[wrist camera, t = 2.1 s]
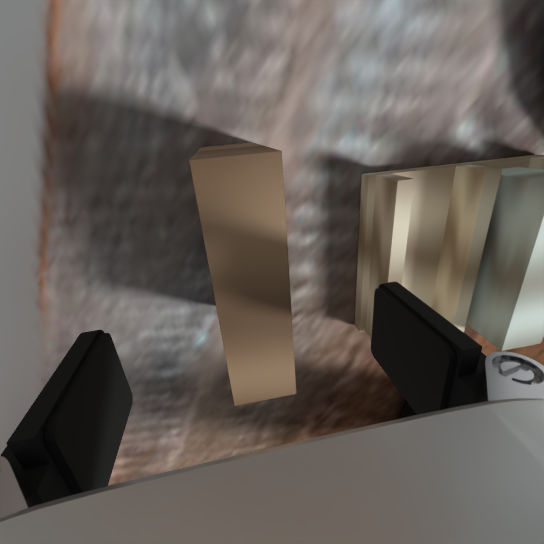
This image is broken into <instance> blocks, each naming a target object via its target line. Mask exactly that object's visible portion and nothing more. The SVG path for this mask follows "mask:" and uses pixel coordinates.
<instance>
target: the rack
mask: <svg viewBox="0 0 544 544" xmlns="http://www.w3.org/2000/svg"><path fill="white" fill-rule="evenodd" d="M395 281H396V282H398V283H399V284H401V285H402V286H403V287H405V288H406V289H407V290H409V291H410V292H411V293H412V294H414V295H415V296H416V297H418V298H419V299H420V300H422V301H423V302H424V303H426V304H427V305H428V306H430V307H431V308H432V309H433V310H435V311H436V312H437V313H439V314H440V315H441V316H443V317H444V318H445V319H447V320H448V321H449V322H450V323H452V324H453V325H454V326H456V327H457V328H458V329H460V330H461V331H462V332H464V329H465V325H466V324H467V325H468V326H470V327H471V328H472V329H474V330H475V331H476V332H478V333H479V334H480V335H482V336H483V337H484V338H485V339H487V340H488V341H489V342H491V343H492V344H493V345H495V346H496V347H497V348H499V349H500V350H501V351H503V350H508V349H513V348H518V347H524V346H529V345H534V344H539V343H541V341H542V338H543V336H544V155H528V156H519V157H510V158H501V159H492V160H483V161H474V162H465V163H456V164H447V165H438V166H429V167H420V168H411V169H402V170H393V171H384V172H375V173H366V174H362V179H361V201H360V222H359V244H358V265H357V287H356V308H355V326H356V328H357V329H358V330H359V332H364V331H366V332H367V333H368V335H369V336H370V337H371V338H372V323H373V307H374V292H375V289H376V288H378V287H379V285H380V284H382V283H388V282H395Z"/></svg>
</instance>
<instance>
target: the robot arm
mask: <svg viewBox="0 0 544 544" xmlns="http://www.w3.org/2000/svg"><path fill="white" fill-rule="evenodd" d="M481 350H482V346H481V345H479V344H478V343H477V342H475V341H474V340H473V339H471V338H470V337H469V336H468V335H466V334H465V333H464V332H462V331H461V330H460V329H458V328H457V327H456V326H454V325H453V324H452V323H450V322H449V321H448V320H447V319H445V318H444V317H443V316H441V315H440V314H439V313H437V312H436V311H435V310H433V309H432V308H431V307H430V306H428V305H427V304H426V303H424V302H423V301H422V300H420V299H419V298H418V297H416V296H415V295H414V294H412V293H411V292H410V291H409V290H407V289H406V288H405V287H403V286H402V285H401V284H399V283H398V282H396V281H395V282H388V283H382V284H380V285H379V287H378V288H376V289H375V292H374V307H373V323H372V338H371V351H372V354H373V356H374V358H375V359H376V361H377V362H378V363H379V365H380V366H381V367H382V369H383V370H384V371H385V373H386V374H387V375H388V377H389V378H390V379H391V381H392V382H393V383H394V385H395V386H396V387H397V389H398V390H399V391H400V393H401V394H402V395H403V397H404V398H405V399H406V401H407V402H408V403H409V405H410V406H411V407H412V409H413V410H414V411H415V413H416V414H417V415H414V416H410V417H405V418H401V419H396V420H392V421H387V422H383V423H378V424H374V425H369V426H365V427H360V428H356V429H351V430H347V431H342V432H338V433H333V434H329V435H324V436H320V437H316V438H311V439H307V440H302V441H298V442H294V443H289V444H285V445H280V446H276V447H272V448H267V449H263V450H259V451H254V452H250V453H245V454H241V455H237V456H232V457H228V458H224V459H219V460H215V461H211V462H207V463H202V464H198V465H194V466H190V467H185V468H181V469H177V470H172V471H168V472H164V473H160V474H155V475H151V476H147V477H143V478H138V479H134V480H130V481H126V482H122V483H118V484H114V485H110V486H108V483H109V479H110V476H111V473H112V469H113V466H114V463H115V459H116V456H117V453H118V449H119V446H120V443H121V440H122V436H123V433H124V430H125V426H126V423H127V420H128V416H129V413H130V410H131V406H132V393H131V390H130V387H129V384H128V382H127V379H126V376H125V373H124V371H123V368H122V365H121V362H120V360H119V357H118V354H117V352H116V349H115V346H114V343H113V341H112V338H111V336H110V334H109V333H104V332H103V330H96V331H90V332H84V333H81V334H80V335H79V337H78V338H77V340H76V341H75V343H74V344H73V345H72V347H71V348H70V350H69V351H68V353H67V354H66V356H65V357H64V359H63V360H62V362H61V363H60V365H59V366H58V368H57V369H56V371H55V372H54V374H53V375H52V376H51V378H50V379H49V381H48V382H47V384H46V385H45V387H44V388H43V390H42V391H41V393H40V394H39V396H38V397H37V399H36V400H35V402H34V403H33V405H32V406H31V408H30V409H29V411H28V412H27V413H26V415H25V417H24V418H23V419H22V421H21V422H20V424H19V425H18V427H17V428H16V430H15V431H14V433H13V434H12V436H11V437H10V438H9V440H8V442H7V447H6V448H5V450H4V451H3V453H2V454H1V456H0V544H544V366H543V365H541V364H540V363H538V362H536V361H535V360H533V359H531V358H528V357H526V356H523V355H520V354H516V353H511V352H494V353H491V354H489V355H488V356H485V355H484V354H483V353H482V352H481Z"/></svg>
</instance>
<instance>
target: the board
mask: <svg viewBox="0 0 544 544" xmlns="http://www.w3.org/2000/svg"><path fill="white" fill-rule="evenodd" d="M189 162H190V168H191V173H192V178H193V184H194V189H195V195H196V200H197V205H198V211H199V216H200V221H201V227H202V232H203V238H204V243H205V248H206V254H207V259H208V265H209V270H210V275H211V281H212V286H213V292H214V297H215V302H216V308H217V313H218V319H219V324H220V329H221V335H222V340H223V346H224V351H225V356H226V362H227V367H228V373H229V378H230V383H231V389H232V394H233V400H234V405H235V406H237V405H242V404H247V403H252V402H258V401H263V400H268V399H273V398H278V397H283V396H288V395H293V394H296V379H295V363H294V346H293V330H292V313H291V297H290V280H289V264H288V247H287V231H286V214H285V198H284V182H283V165H282V151H280V150H276V149H273V148H269V147H266V146H262V145H259V144H256V143H252V142H250V143H240V144H229V145H218V146H207V147H200V148H199V149H198V151H197V152H196V153H195V154H194V155H193V156H192V157H191V158H190V160H189Z"/></svg>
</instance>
